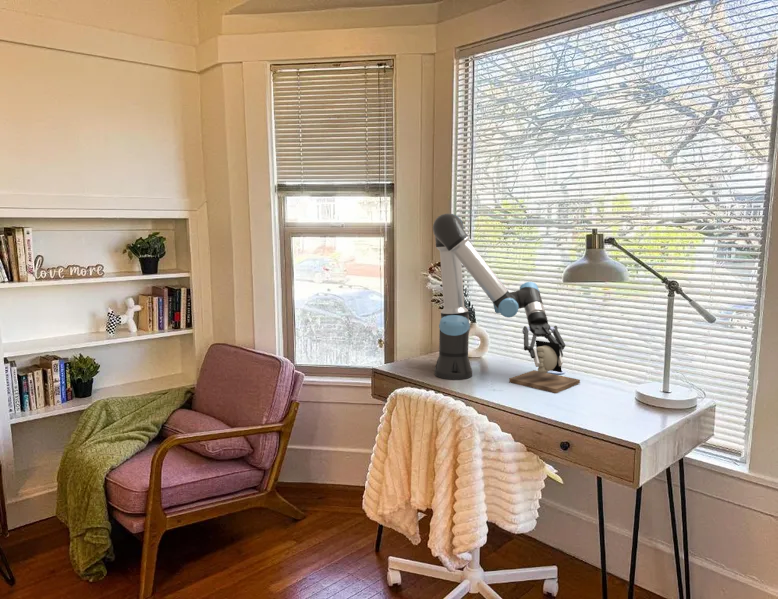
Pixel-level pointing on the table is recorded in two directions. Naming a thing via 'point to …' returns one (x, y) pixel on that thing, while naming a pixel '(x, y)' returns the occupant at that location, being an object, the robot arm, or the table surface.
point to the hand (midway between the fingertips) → (549, 364)
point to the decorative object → (548, 356)
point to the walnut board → (544, 381)
